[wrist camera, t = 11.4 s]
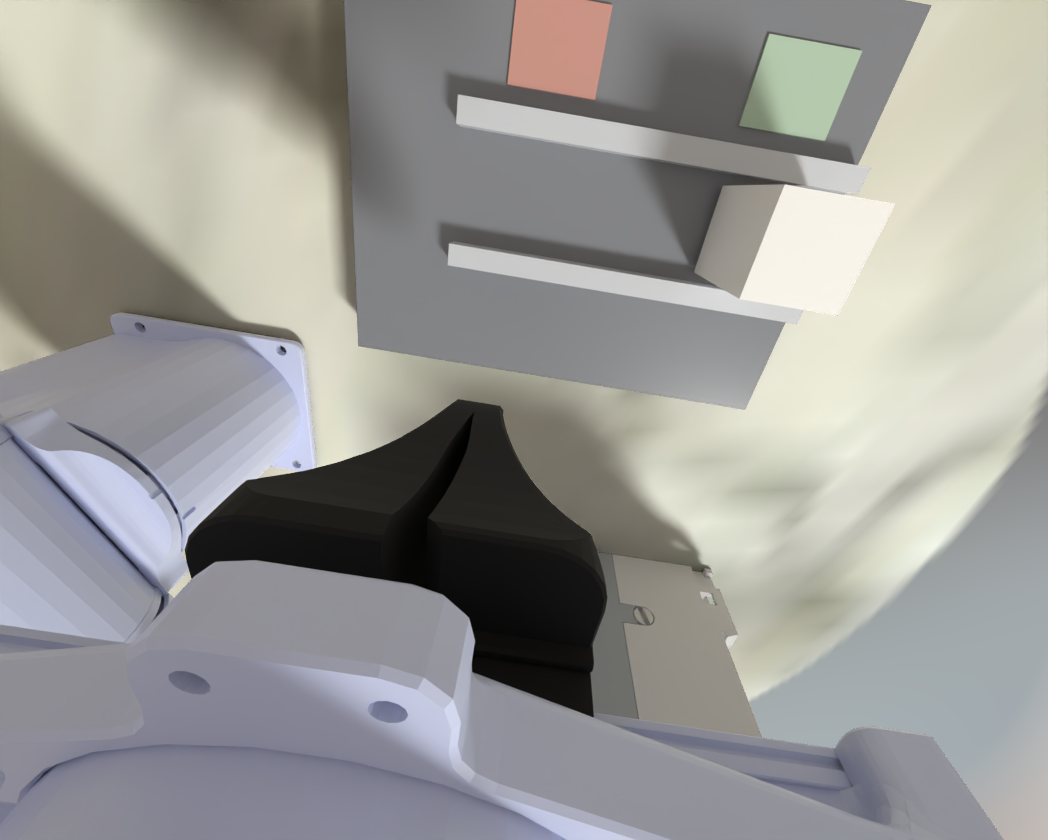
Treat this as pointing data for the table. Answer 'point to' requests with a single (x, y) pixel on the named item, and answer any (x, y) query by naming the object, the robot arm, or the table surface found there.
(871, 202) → the handle
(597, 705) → the circuit breaker
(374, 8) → the panel
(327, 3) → the table surface
